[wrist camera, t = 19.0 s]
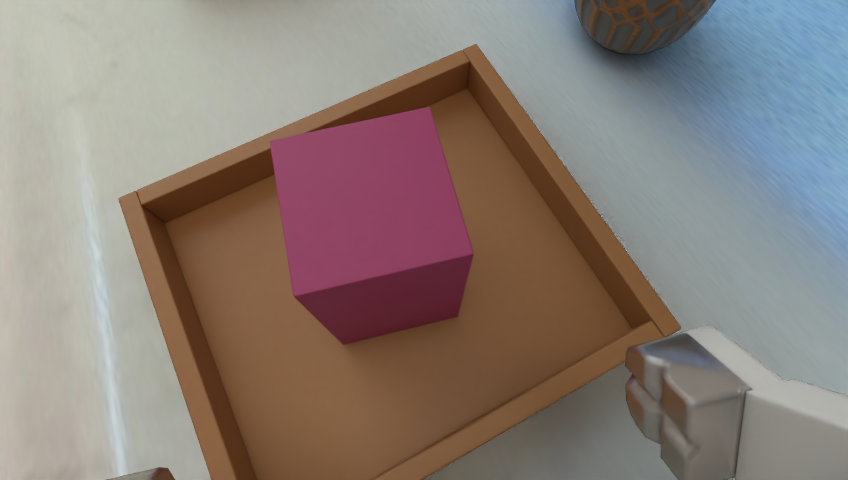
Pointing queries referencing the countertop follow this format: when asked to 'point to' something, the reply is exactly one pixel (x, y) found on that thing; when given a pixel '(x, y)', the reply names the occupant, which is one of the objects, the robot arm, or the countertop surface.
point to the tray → (404, 350)
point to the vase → (639, 22)
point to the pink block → (372, 225)
